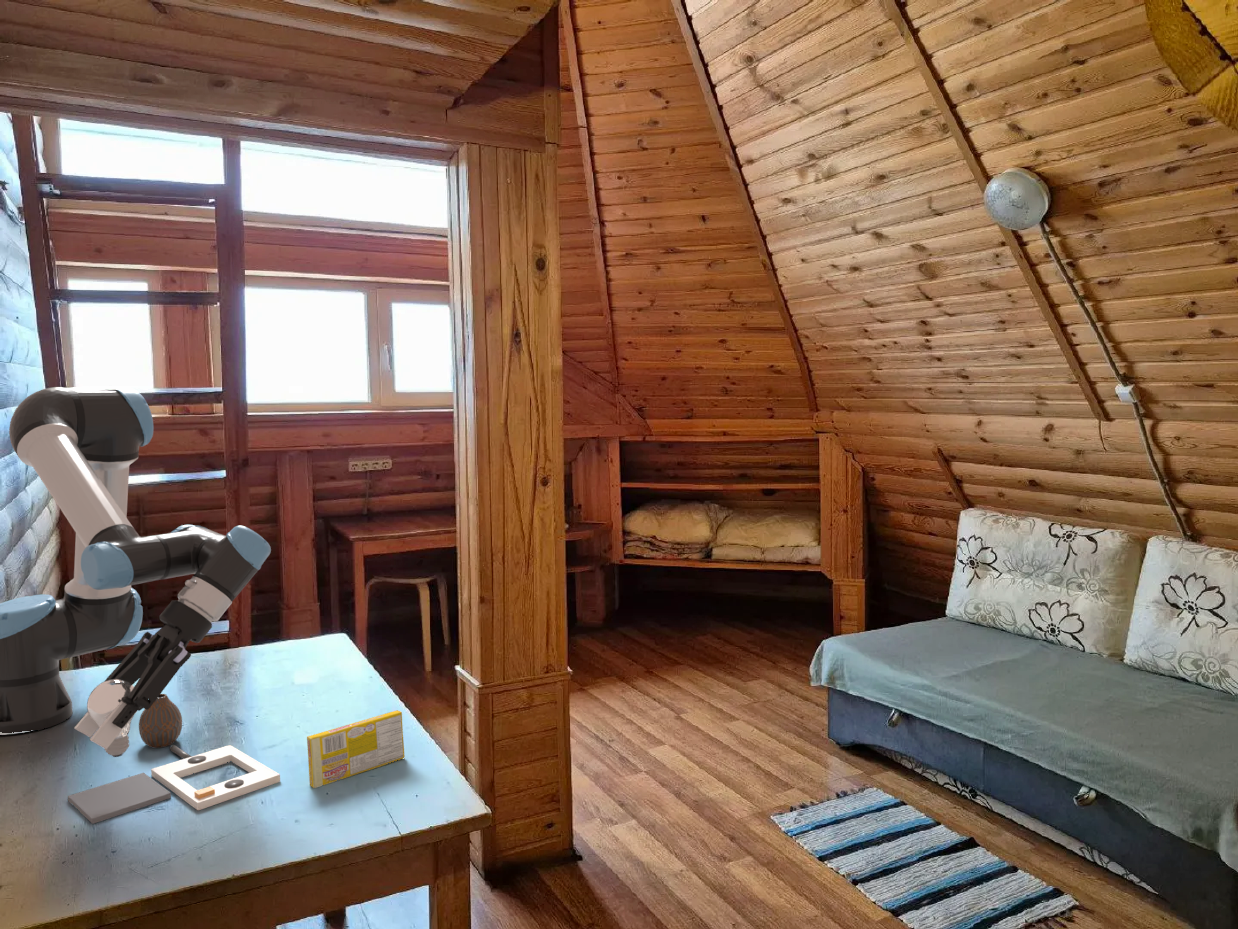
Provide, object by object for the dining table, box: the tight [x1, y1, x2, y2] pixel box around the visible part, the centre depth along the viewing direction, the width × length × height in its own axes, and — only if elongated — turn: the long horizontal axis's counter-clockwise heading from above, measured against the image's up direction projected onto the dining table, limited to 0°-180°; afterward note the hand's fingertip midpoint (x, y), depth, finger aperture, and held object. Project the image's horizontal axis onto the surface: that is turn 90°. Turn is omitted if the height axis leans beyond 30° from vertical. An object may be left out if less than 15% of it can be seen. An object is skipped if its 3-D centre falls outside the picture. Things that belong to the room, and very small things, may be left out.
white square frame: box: [150, 744, 281, 811], centre depth 147 cm, size 26×13×2 cm, turn 48°
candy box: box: [306, 710, 406, 789], centre depth 147 cm, size 16×2×8 cm, turn 133°
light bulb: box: [86, 679, 135, 758], centre depth 137 cm, size 7×7×12 cm
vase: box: [138, 693, 183, 749], centre depth 159 cm, size 7×7×9 cm
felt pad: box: [67, 772, 172, 825], centre depth 138 cm, size 11×11×1 cm
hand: (90, 738), depth 134 cm, fingers closed on light bulb, 6 cm apart
